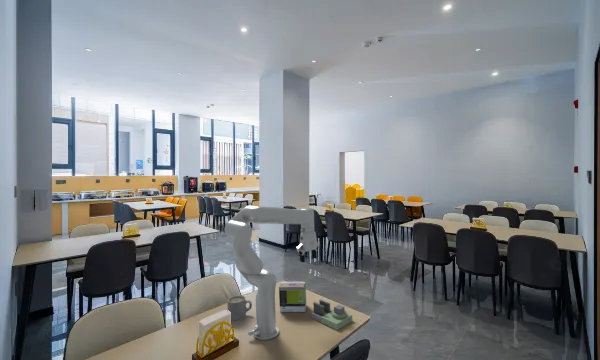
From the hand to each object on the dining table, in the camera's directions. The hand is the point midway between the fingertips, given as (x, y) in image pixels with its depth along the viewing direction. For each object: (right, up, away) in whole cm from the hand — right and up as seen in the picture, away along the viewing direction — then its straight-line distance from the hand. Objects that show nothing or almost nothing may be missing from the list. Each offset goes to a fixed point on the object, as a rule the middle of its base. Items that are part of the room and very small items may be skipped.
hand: (308, 260), depth 160 cm
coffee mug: (-39, -32, -2) cm, 50 cm away
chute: (+7, -30, -4) cm, 31 cm away
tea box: (-9, -31, +6) cm, 33 cm away
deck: (+12, -30, -7) cm, 33 cm away
